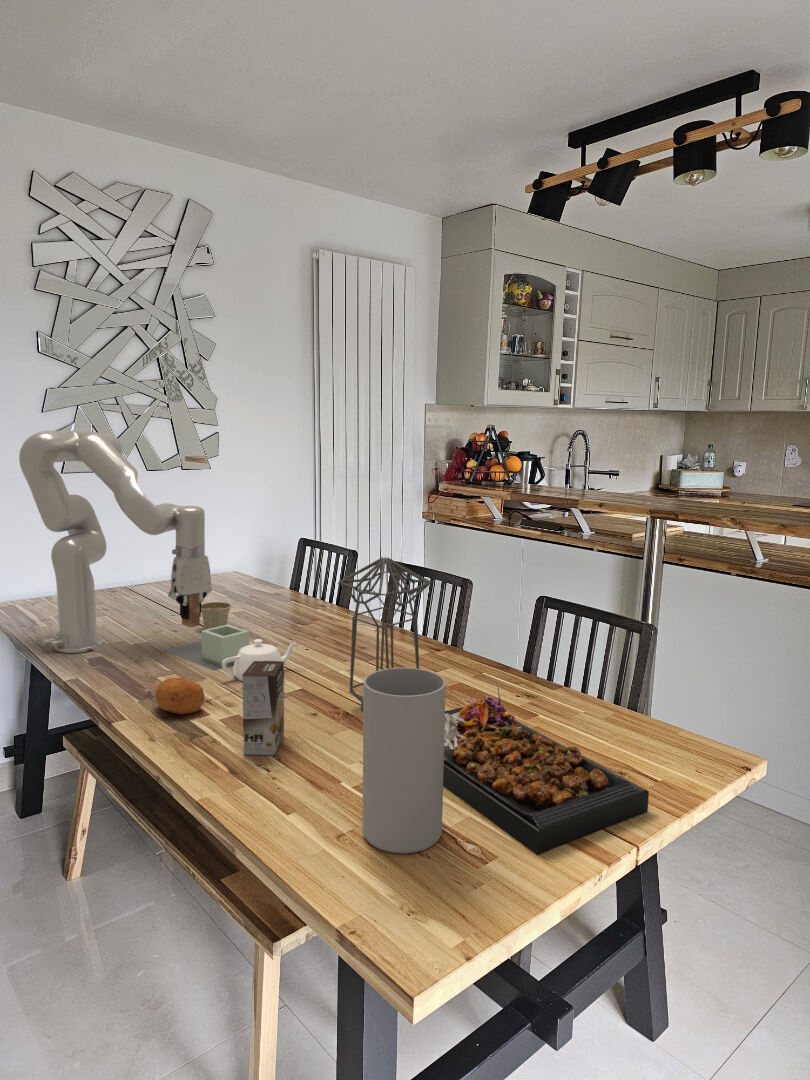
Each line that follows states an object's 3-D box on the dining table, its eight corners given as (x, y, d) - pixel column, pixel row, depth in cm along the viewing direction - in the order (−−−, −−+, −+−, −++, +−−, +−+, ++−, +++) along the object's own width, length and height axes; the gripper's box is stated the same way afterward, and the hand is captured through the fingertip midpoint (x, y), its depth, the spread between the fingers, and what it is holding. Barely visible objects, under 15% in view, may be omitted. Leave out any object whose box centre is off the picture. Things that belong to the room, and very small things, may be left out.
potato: (169, 723, 156) (168, 690, 155) (147, 708, 165) (145, 675, 163) (209, 712, 163) (208, 680, 161) (186, 698, 171) (185, 667, 170)
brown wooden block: (190, 627, 201) (189, 591, 200) (181, 624, 204) (181, 588, 202) (199, 625, 204) (199, 589, 202) (191, 622, 206) (191, 587, 205)
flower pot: (236, 629, 226) (235, 602, 225) (225, 638, 217) (225, 610, 215) (206, 628, 227) (205, 601, 226) (194, 637, 218) (194, 608, 216)
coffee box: (275, 756, 142) (274, 676, 140) (242, 755, 142) (241, 675, 140) (285, 736, 151) (284, 660, 149) (253, 735, 152) (252, 659, 149)
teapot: (285, 665, 195) (285, 627, 193) (308, 678, 185) (308, 639, 183) (212, 679, 183) (211, 639, 182) (232, 694, 173) (231, 653, 172)
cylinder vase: (349, 845, 113) (349, 689, 109) (380, 806, 124) (382, 663, 120) (426, 863, 109) (430, 701, 104) (451, 821, 120) (456, 674, 116)
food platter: (384, 746, 149) (385, 697, 147) (481, 721, 162) (483, 676, 160) (536, 859, 111) (540, 795, 110) (647, 815, 124) (651, 757, 122)
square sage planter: (223, 667, 189) (222, 638, 188) (202, 659, 195) (201, 630, 194) (249, 659, 195) (249, 631, 194) (228, 652, 201) (228, 624, 200)
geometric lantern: (433, 710, 166) (436, 558, 159) (381, 732, 155) (382, 569, 148) (385, 690, 177) (386, 547, 170) (334, 709, 166) (332, 557, 159)
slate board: (214, 674, 187) (214, 670, 187) (163, 653, 202) (163, 649, 202) (259, 661, 197) (259, 657, 197) (207, 642, 213) (207, 639, 213)
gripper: (170, 557, 192) (171, 625, 195) (223, 550, 204) (223, 615, 207) (155, 553, 197) (156, 619, 200) (208, 546, 209) (208, 609, 212)
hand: (190, 616), depth 204 cm, fingers closed on brown wooden block, 3 cm apart
